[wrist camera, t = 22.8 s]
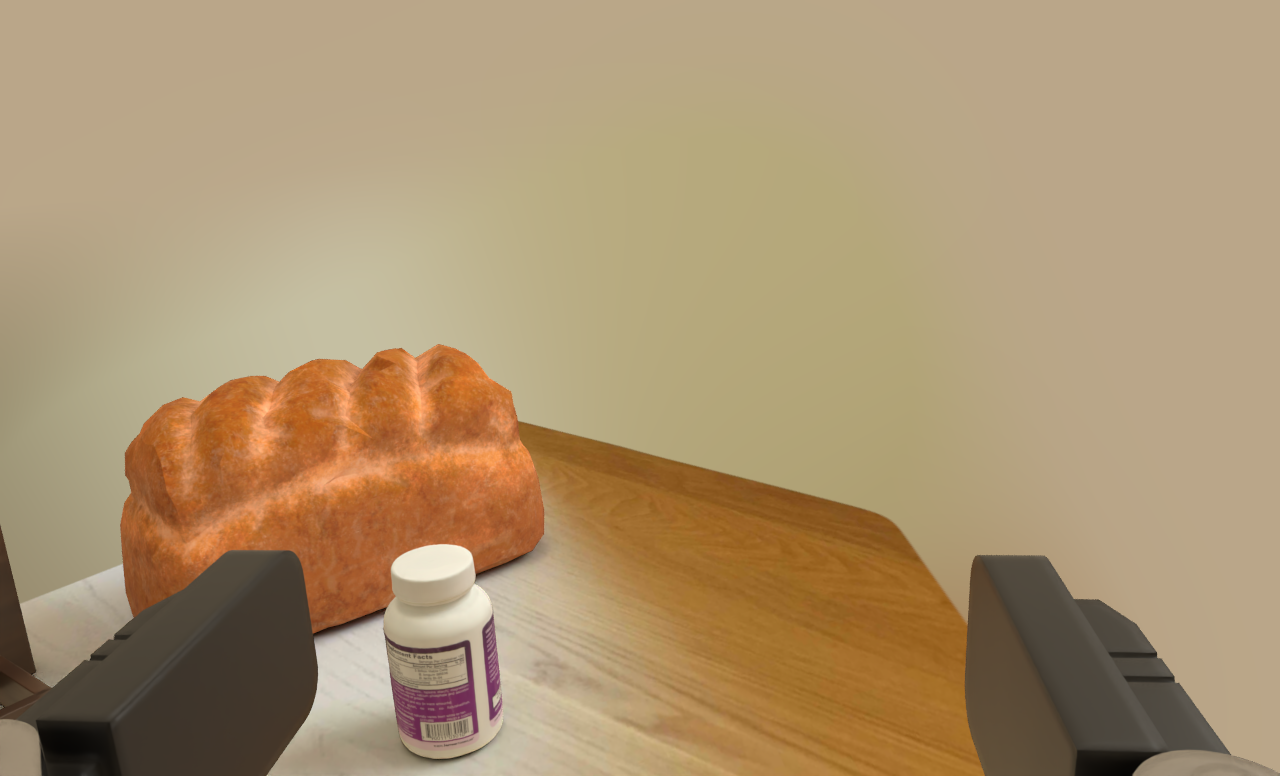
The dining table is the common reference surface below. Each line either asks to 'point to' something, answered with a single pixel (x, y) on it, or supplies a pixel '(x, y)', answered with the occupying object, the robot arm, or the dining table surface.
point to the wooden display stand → (14, 650)
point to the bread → (331, 478)
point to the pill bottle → (442, 653)
